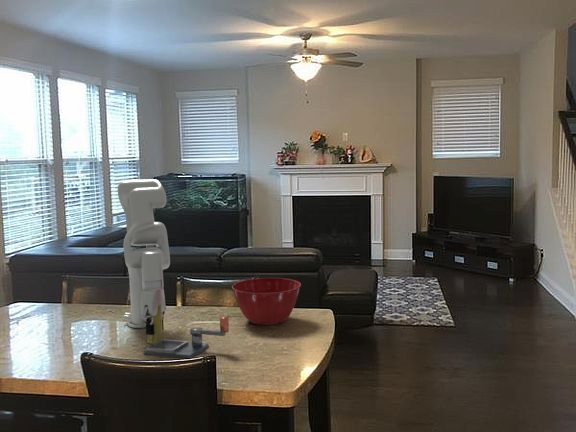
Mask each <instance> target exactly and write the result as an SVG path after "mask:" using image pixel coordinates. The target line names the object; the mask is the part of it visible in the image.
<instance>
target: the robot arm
mask: <svg viewBox="0 0 576 432" xmlns="http://www.w3.org/2000/svg"><path fill="white" fill-rule="evenodd" d="M117 197H118V200H119V203H120V206H121V207H122V209H123V213H124V216H125V222H126V233H125V236H124V238H123V245H122V246H123V247H122V248H123V254H124V262H125V265H126V267H127V271H128V277H129V294H130V295H129V298H130V299H129V300H130V312H125V313H124V315H123V319H126V320H128V321H127V326H128V327H130V328H135V329H145V334H146V335H154V324H153V319H154V316H155V315H157V311H158V305H160V304H161V314H162V328H163V331H164V329H165V327H164V318H165V312H166V309H167V306H166V297H165V289H164V274H163V273H164V270H166V269H167V270H168V268H169V267H170V266H171V255H170V247H169V240H168V239H169V238H168V231H167V228H166V225H165V224H164V223H163V222H160V221H155V215H154V210H153V209H162V208H164V207H166V205H167V193H166V190H165V188H164V186H163V185H162V183H161V182H160V181H159V179H152V178H151V179H130V180H129V179H128V180H124V181H121V182H119V184H118V185H117ZM132 246H135V247H137V246H138V247H139V248H132ZM142 246H155V247H142ZM148 314H150V316H148ZM148 317H150V318H151V319H149V318H148Z"/></svg>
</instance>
